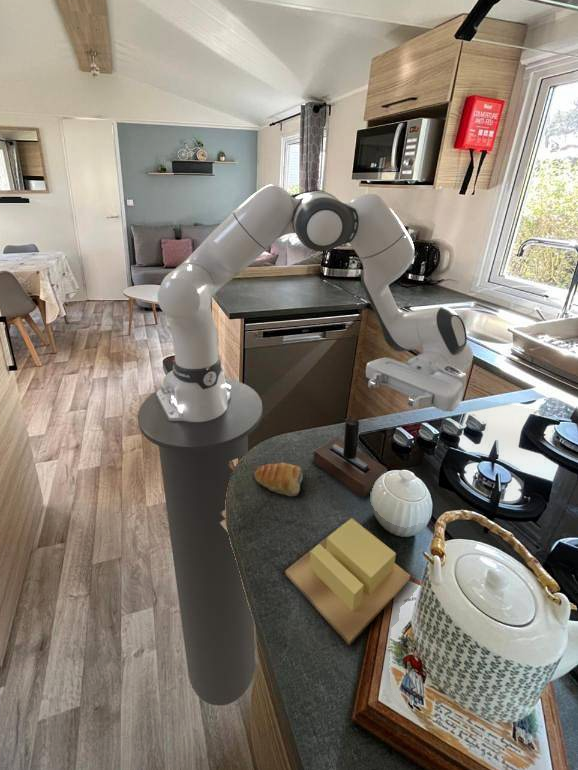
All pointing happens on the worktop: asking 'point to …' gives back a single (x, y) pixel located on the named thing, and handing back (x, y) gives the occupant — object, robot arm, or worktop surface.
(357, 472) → the knife stand
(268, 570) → the worktop surface
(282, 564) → the worktop surface
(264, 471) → the pastry
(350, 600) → the butter slice
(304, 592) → the board
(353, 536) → the butter
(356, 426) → the knife
